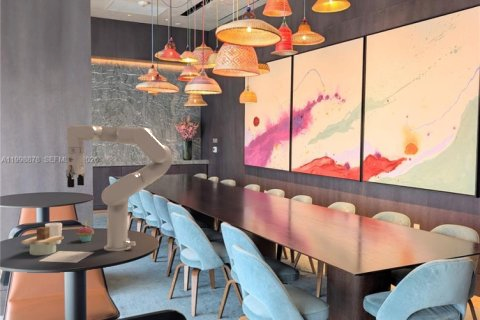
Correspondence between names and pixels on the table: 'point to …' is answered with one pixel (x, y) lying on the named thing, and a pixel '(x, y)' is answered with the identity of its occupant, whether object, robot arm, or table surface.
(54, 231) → the white cup
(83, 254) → the mat
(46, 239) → the lid
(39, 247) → the bowl
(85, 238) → the cupcake
